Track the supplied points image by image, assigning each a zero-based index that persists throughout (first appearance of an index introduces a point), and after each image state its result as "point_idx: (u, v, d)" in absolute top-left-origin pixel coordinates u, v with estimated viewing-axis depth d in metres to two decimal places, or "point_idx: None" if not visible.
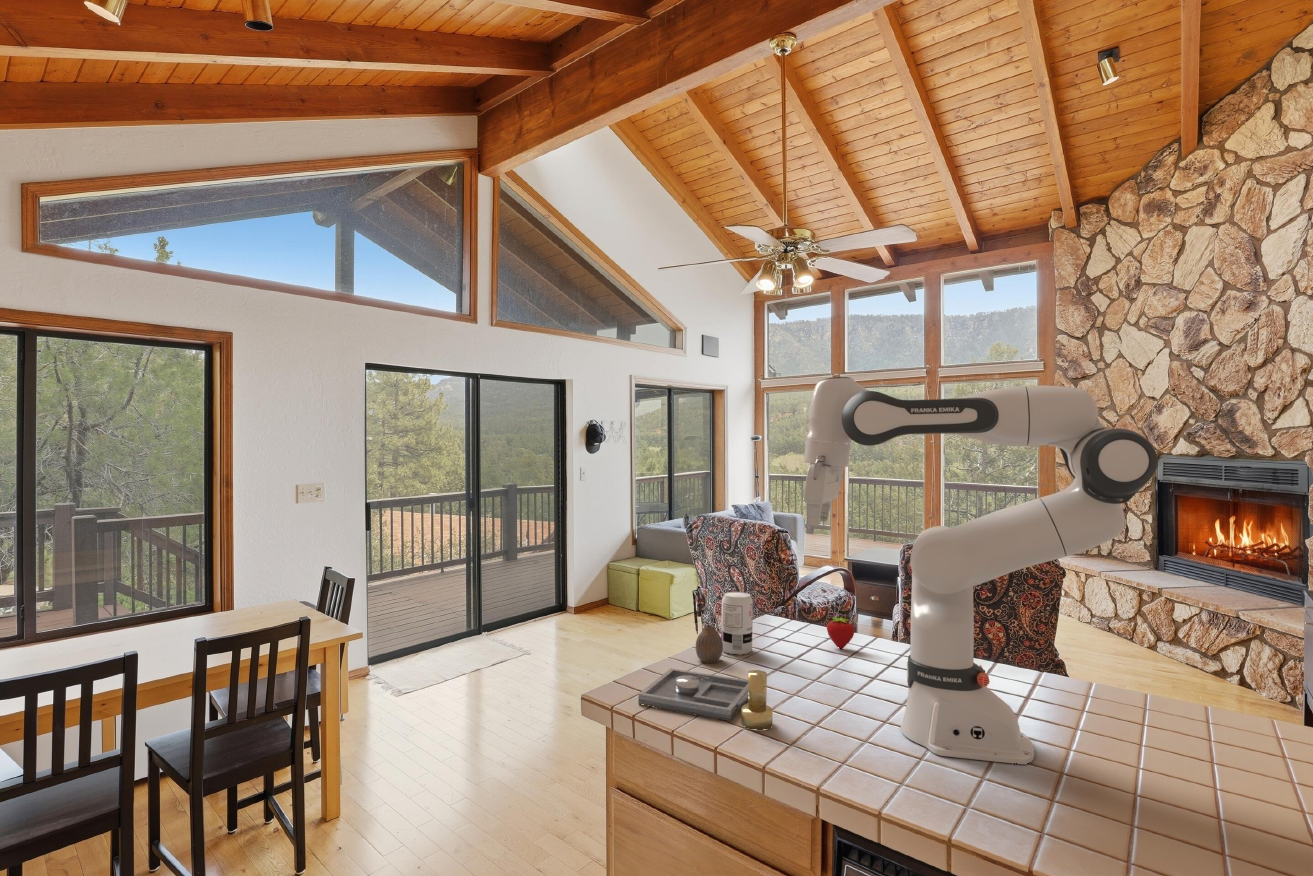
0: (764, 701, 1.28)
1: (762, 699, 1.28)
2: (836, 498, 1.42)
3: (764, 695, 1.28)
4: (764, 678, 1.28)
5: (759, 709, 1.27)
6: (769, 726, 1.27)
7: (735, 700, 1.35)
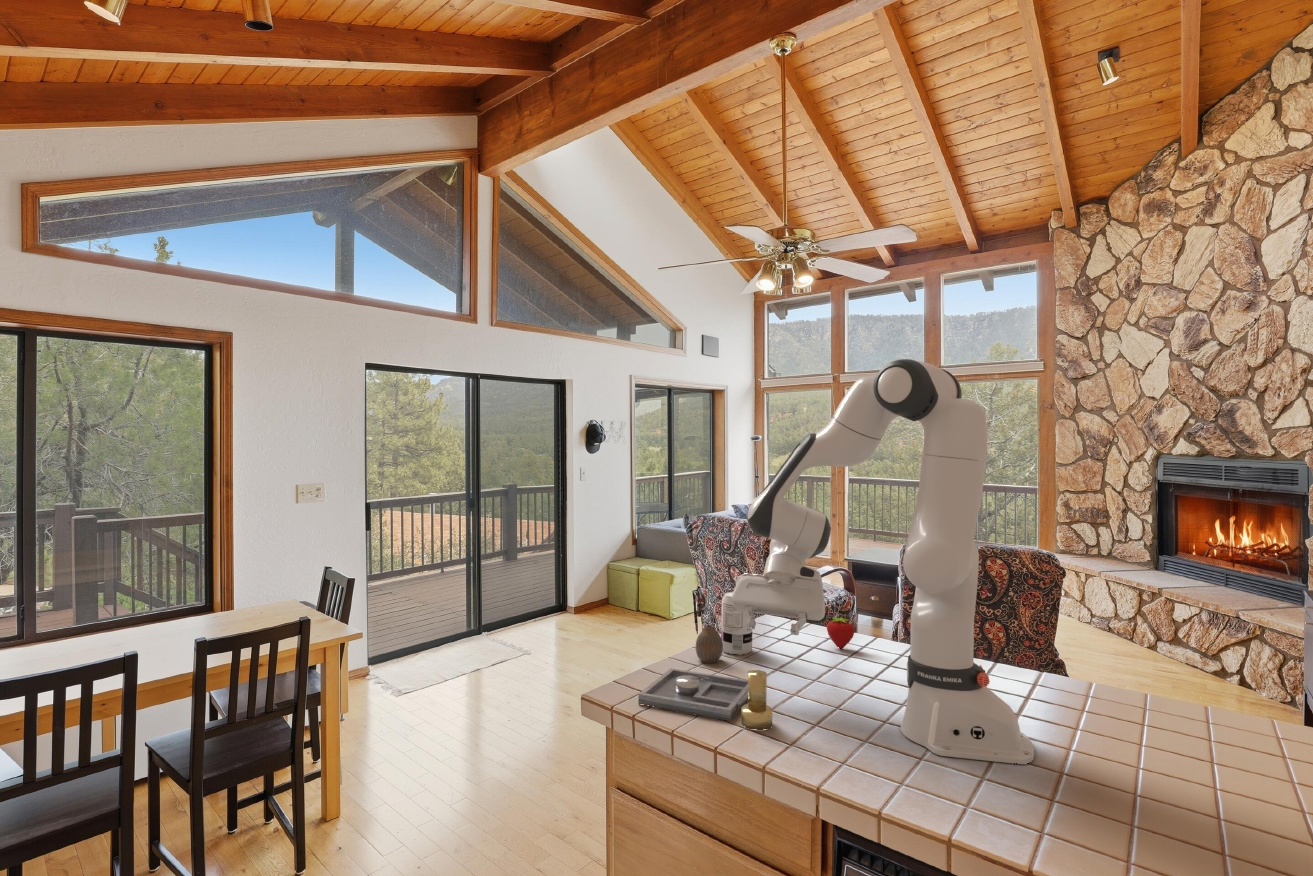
0: (764, 701, 1.28)
1: (762, 699, 1.28)
2: (813, 611, 1.39)
3: (764, 695, 1.28)
4: (763, 678, 1.28)
5: (759, 709, 1.27)
6: (769, 726, 1.27)
7: (735, 700, 1.35)
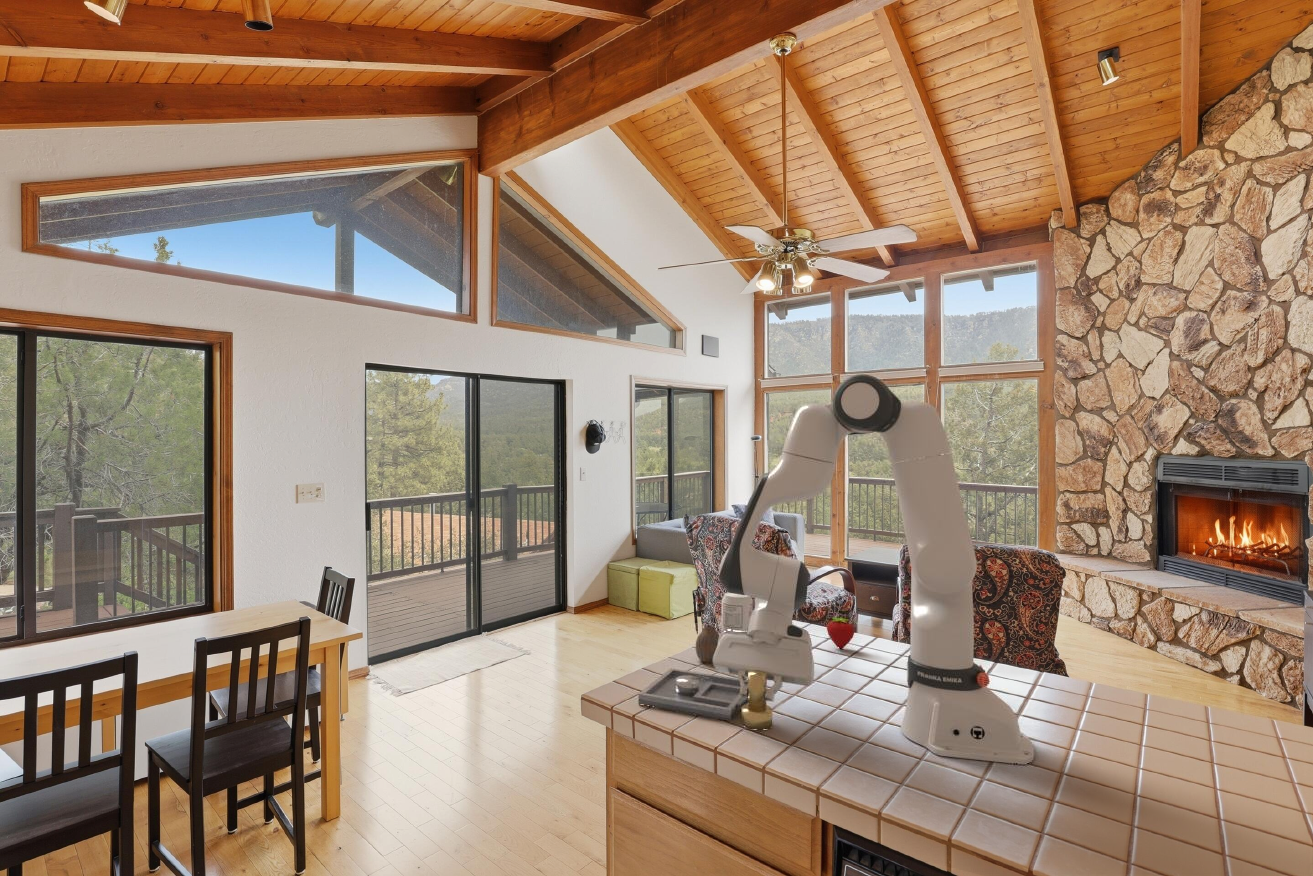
0: (764, 701, 1.28)
1: (762, 699, 1.28)
2: (801, 676, 1.27)
3: (764, 695, 1.28)
4: (763, 678, 1.28)
5: (759, 708, 1.27)
6: (769, 726, 1.27)
7: (735, 700, 1.35)
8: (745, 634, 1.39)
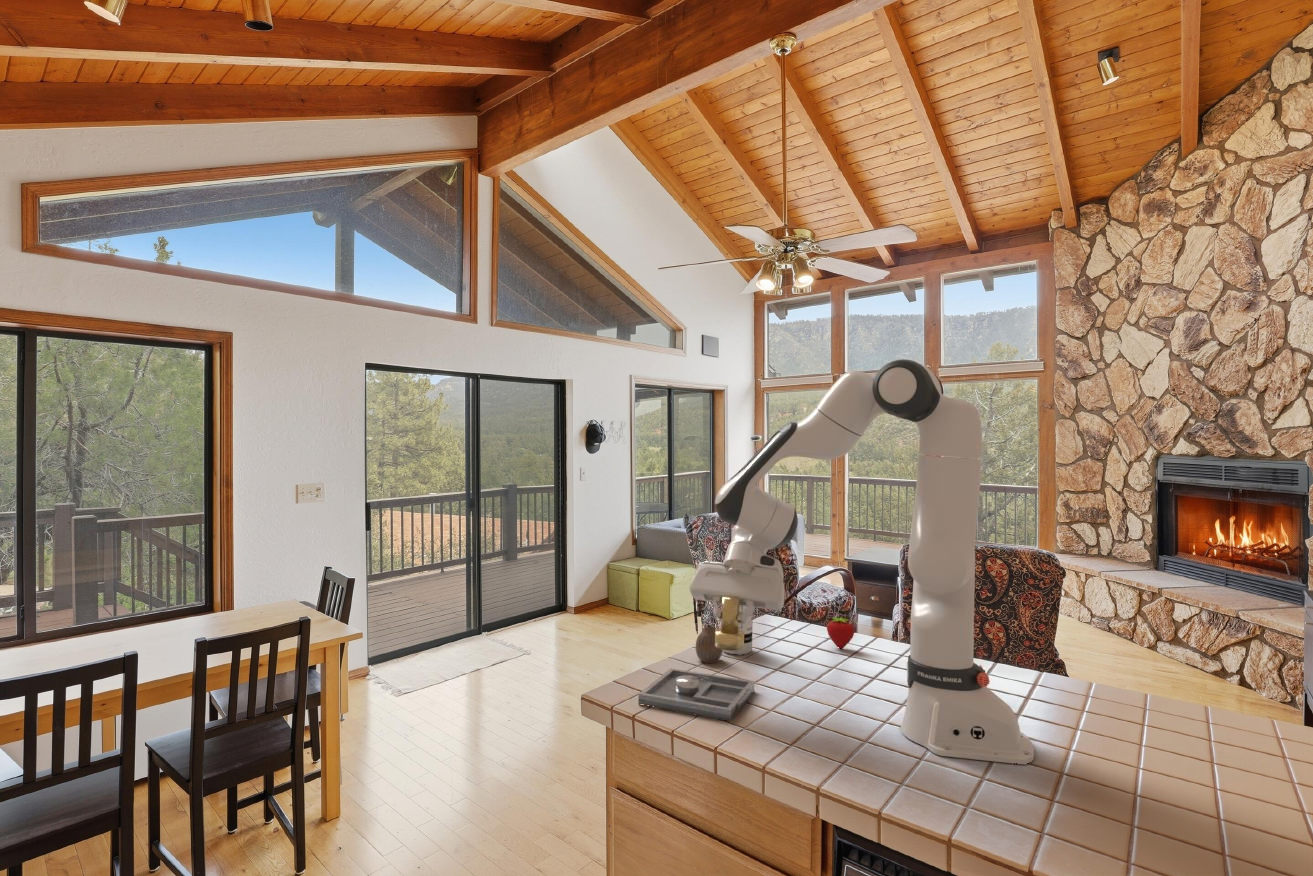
0: (736, 624, 1.36)
1: (735, 621, 1.36)
2: (772, 600, 1.36)
3: (736, 618, 1.36)
4: (736, 602, 1.36)
5: (732, 630, 1.36)
6: (740, 647, 1.35)
7: (735, 700, 1.35)
8: (721, 565, 1.47)
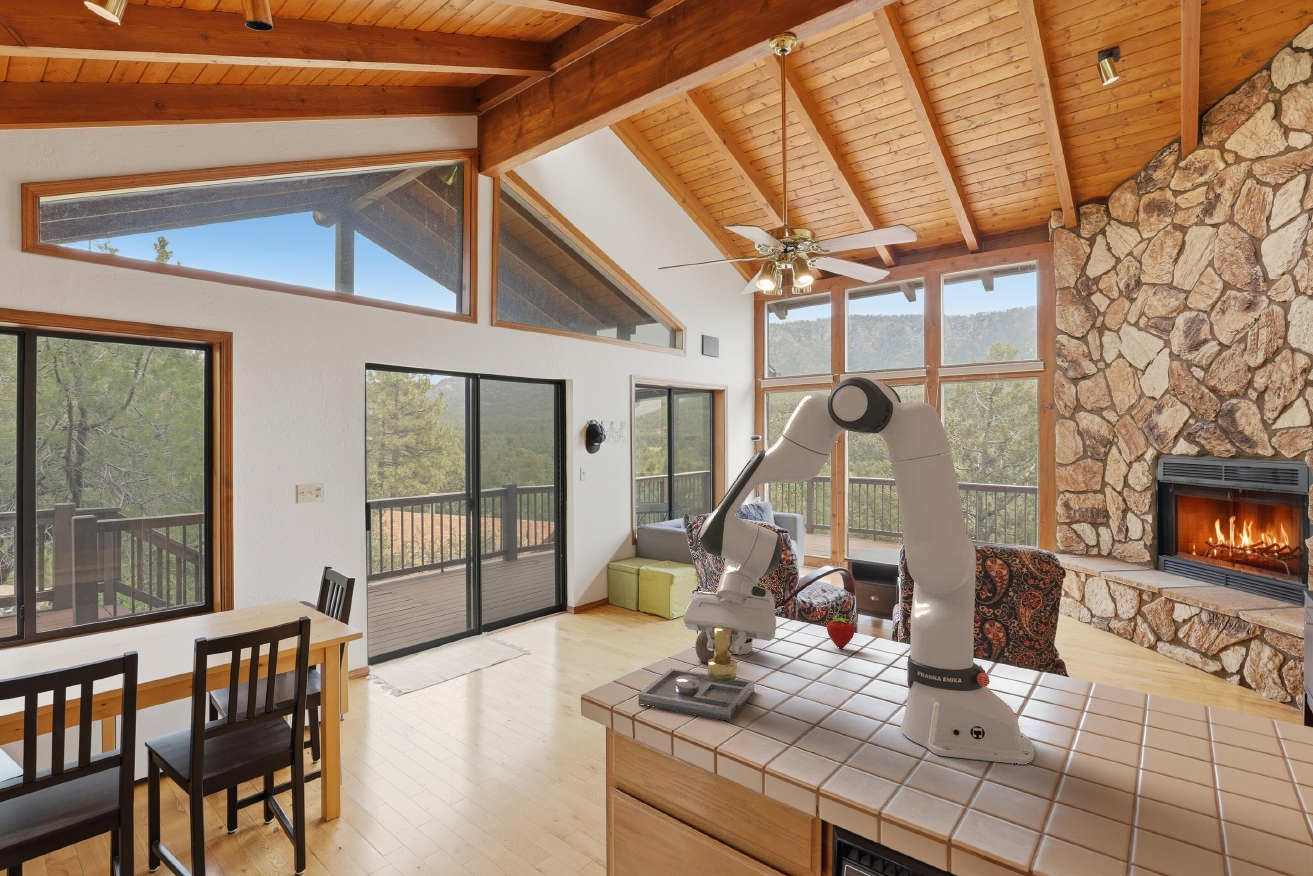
0: (729, 654, 1.39)
1: (727, 652, 1.39)
2: (763, 631, 1.39)
3: None
4: (728, 633, 1.39)
5: (724, 661, 1.39)
6: (733, 677, 1.38)
7: (735, 700, 1.35)
8: (714, 595, 1.50)
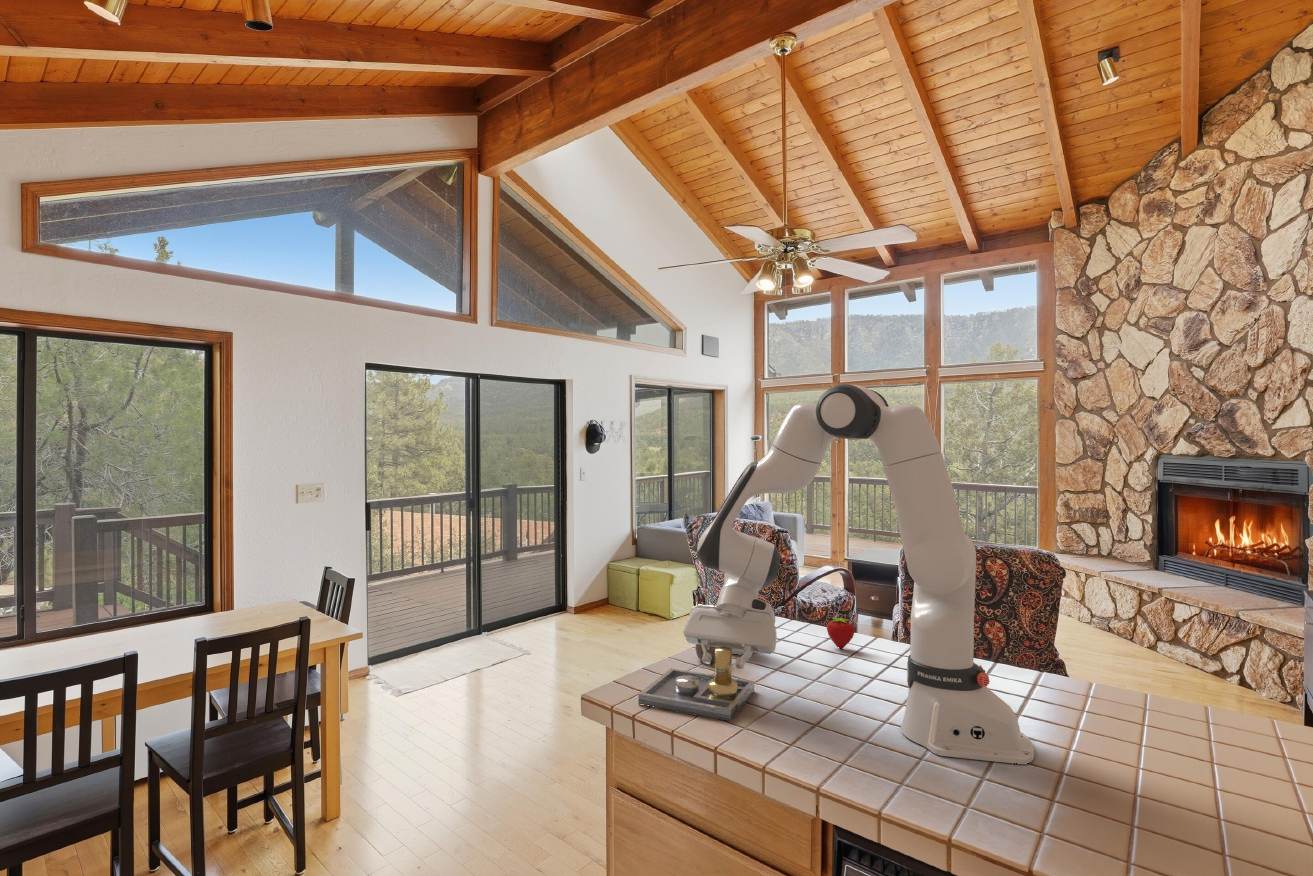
0: (729, 675, 1.39)
1: (727, 672, 1.39)
2: (763, 645, 1.39)
3: (729, 669, 1.39)
4: (729, 653, 1.39)
5: (725, 681, 1.38)
6: (734, 697, 1.38)
7: (735, 700, 1.35)
8: (714, 608, 1.50)
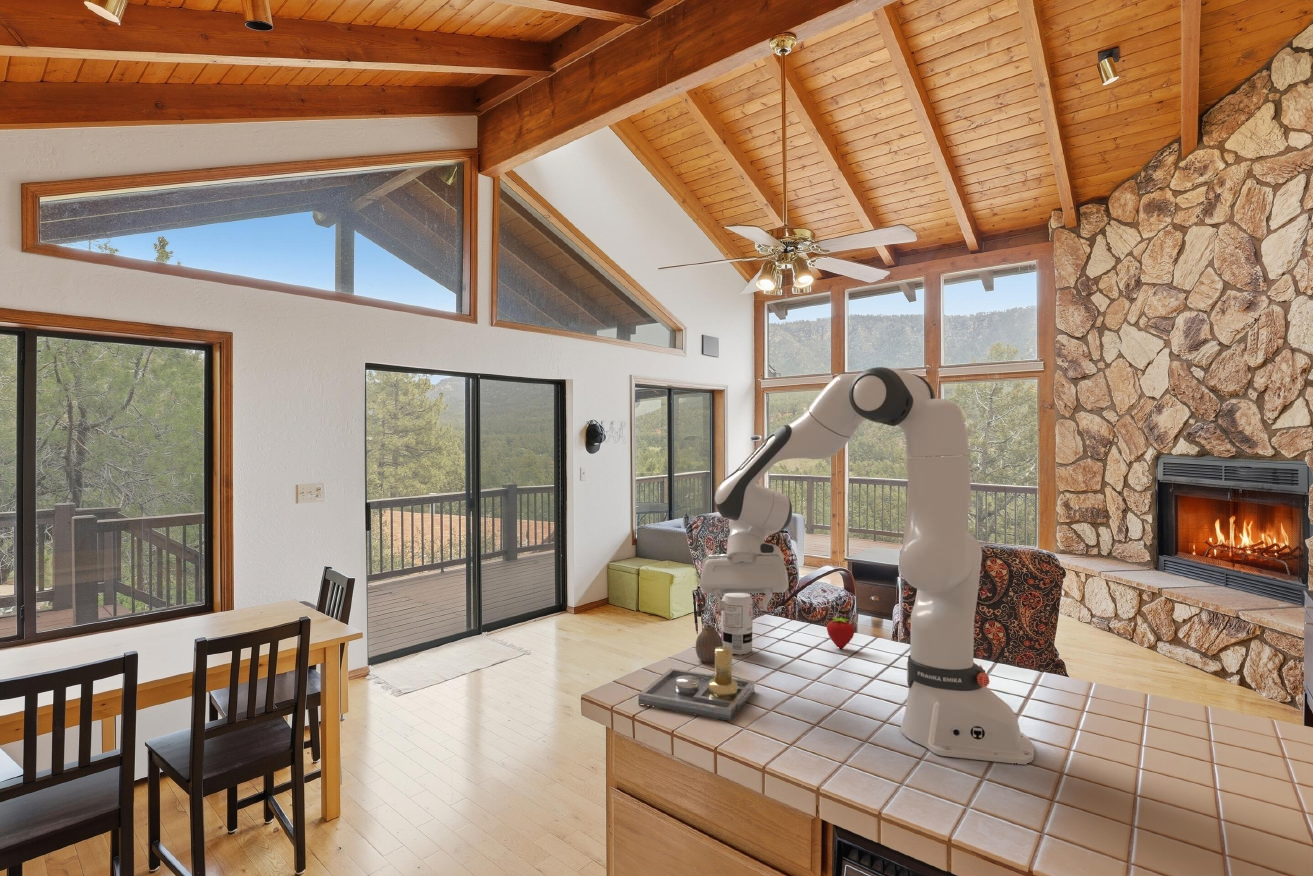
0: (729, 675, 1.39)
1: (727, 672, 1.39)
2: (777, 585, 1.47)
3: (729, 669, 1.39)
4: (729, 653, 1.39)
5: (725, 681, 1.38)
6: (734, 697, 1.38)
7: (735, 700, 1.35)
8: (725, 557, 1.57)
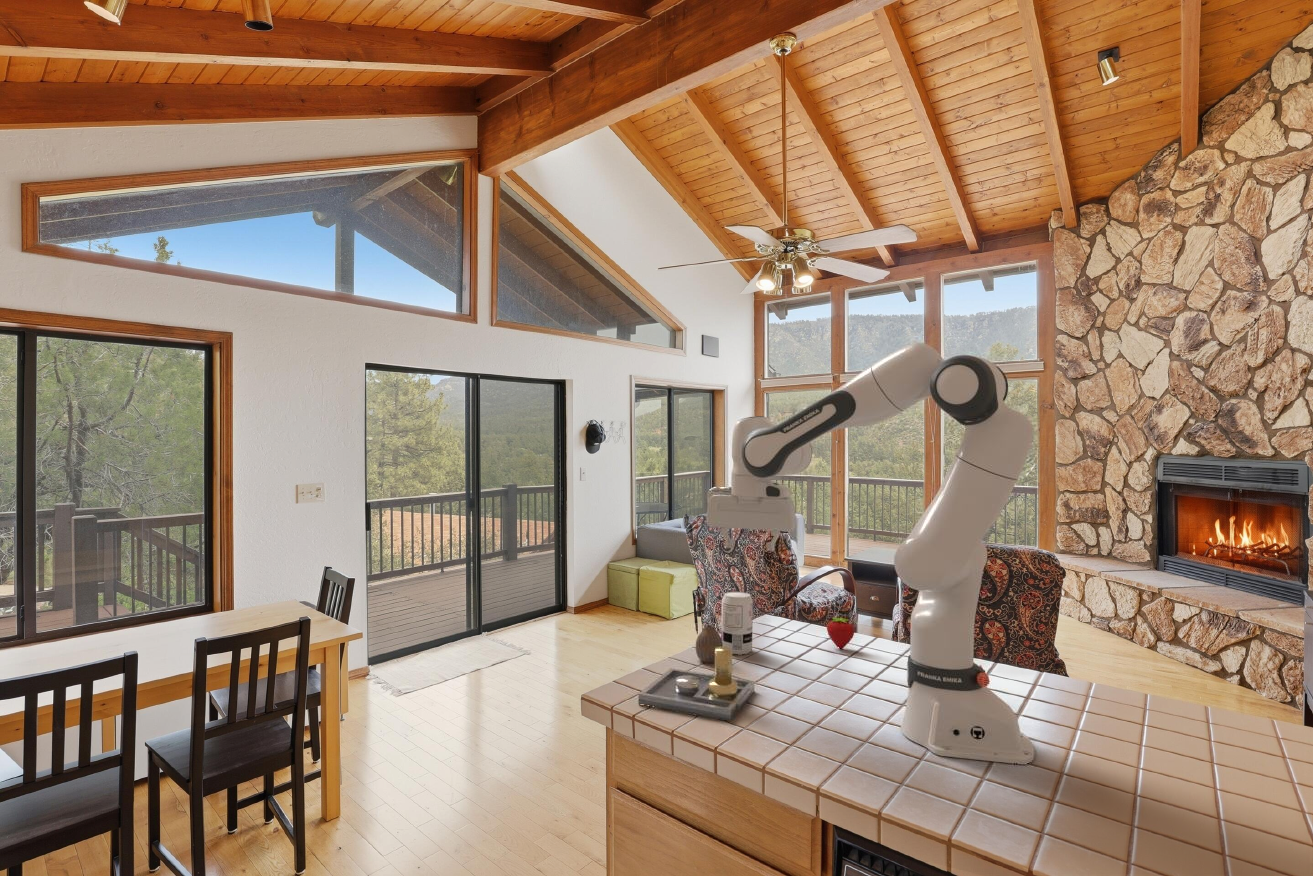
0: (729, 675, 1.39)
1: (727, 672, 1.39)
2: (784, 530, 1.45)
3: (729, 669, 1.39)
4: (729, 653, 1.39)
5: (725, 681, 1.38)
6: (734, 697, 1.38)
7: (735, 700, 1.35)
8: (729, 491, 1.52)
